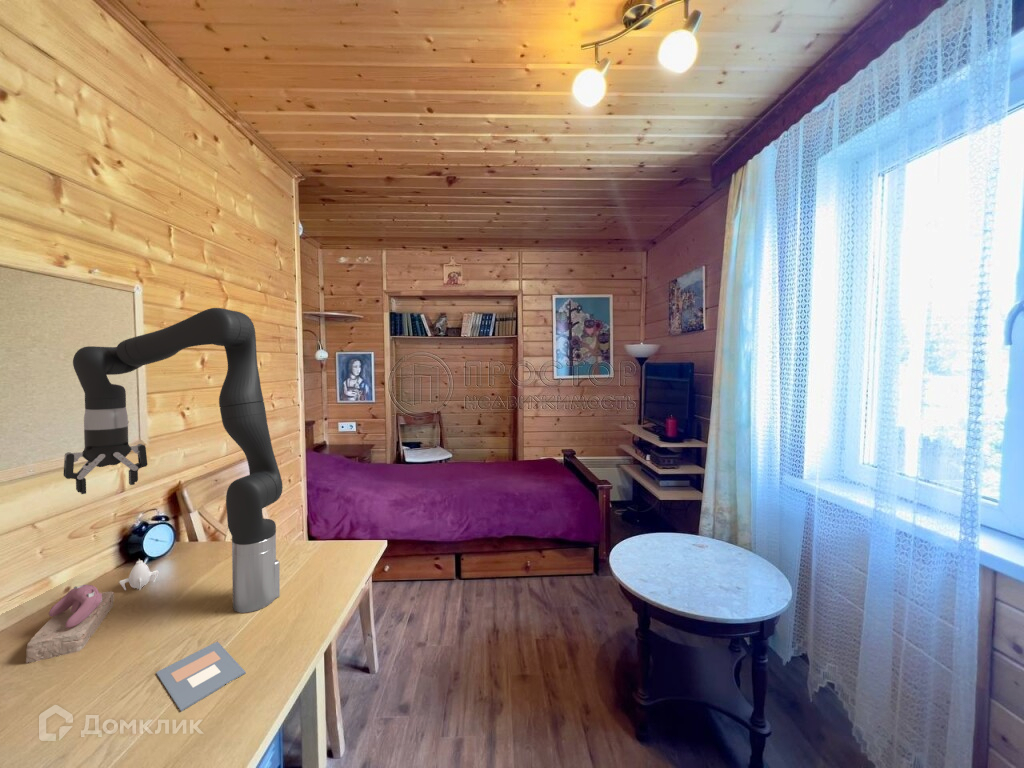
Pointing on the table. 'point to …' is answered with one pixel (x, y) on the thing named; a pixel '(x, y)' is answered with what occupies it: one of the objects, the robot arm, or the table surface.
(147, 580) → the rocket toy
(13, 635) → the table surface
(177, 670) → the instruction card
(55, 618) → the brick
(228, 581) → the table surface
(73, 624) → the video game controller
